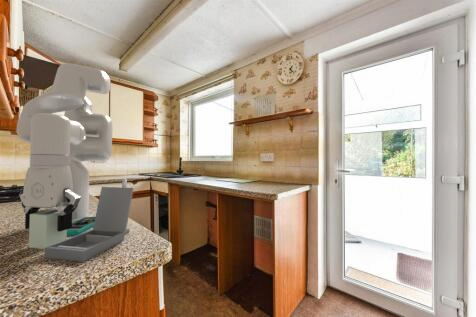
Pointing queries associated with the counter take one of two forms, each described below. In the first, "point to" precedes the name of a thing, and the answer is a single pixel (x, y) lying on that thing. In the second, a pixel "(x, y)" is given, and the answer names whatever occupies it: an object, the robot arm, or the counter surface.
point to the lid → (113, 209)
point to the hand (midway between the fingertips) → (48, 228)
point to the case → (84, 245)
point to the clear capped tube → (124, 185)
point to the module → (45, 229)
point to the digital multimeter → (81, 226)
